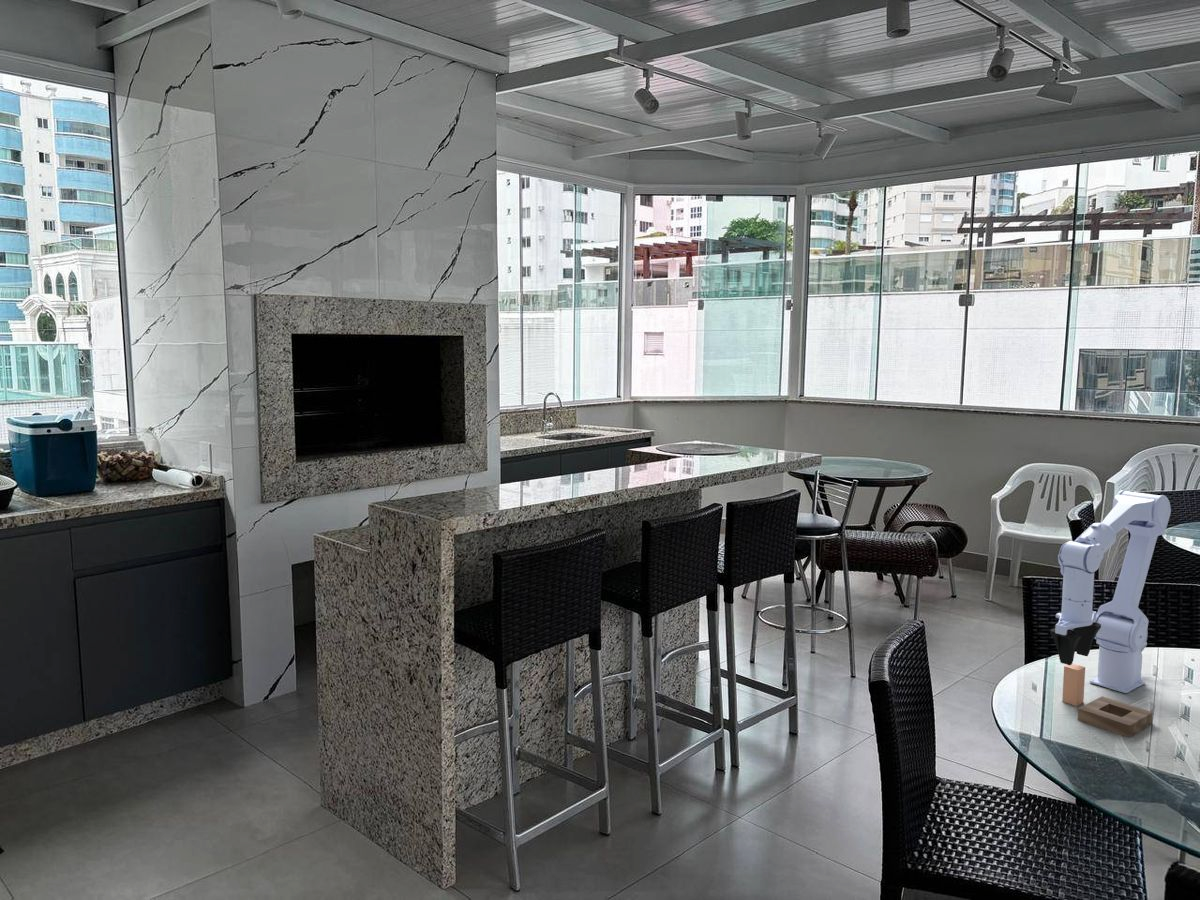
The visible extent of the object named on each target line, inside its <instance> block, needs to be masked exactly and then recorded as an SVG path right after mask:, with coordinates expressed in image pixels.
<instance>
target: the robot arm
mask: <svg viewBox="0 0 1200 900" xmlns="http://www.w3.org/2000/svg"><path fill="white" fill-rule="evenodd" d="M1171 511H1172V508H1171V503H1170V500H1169V498H1168V497H1167V496H1166V495H1164V494H1160V495H1158V494H1153V493H1152V494H1151V493H1144V492H1138V491H1137V492H1136V491H1129V490H1126V489H1121V490H1119V491H1118V492H1117V493H1116V494H1115V495H1114V497H1113V500H1112V509H1111V510H1110V512H1108V514H1107V515H1106V516H1105V517H1104V519H1103V520H1102V521H1101V522H1094V523H1092V524H1090V525H1089V526H1088V528H1087V529H1085V530H1084V531H1083V532H1082V533H1081V534H1080V535H1079V536H1078V537H1076V539H1075V540H1069V541H1067V542H1065V543H1063V544H1062V545H1061V547H1060V548H1059V551H1058V555H1057V561H1058V564H1059V565H1060V574H1061V575H1062V576H1063V577H1062V598H1061V599H1062V600H1061V612H1057V613H1056V614H1055V618H1056V619H1058V621H1057V623H1056V624H1055V626H1054V627H1053V628H1052V629H1050V635H1051V637H1052V639H1053V641H1054V643H1055V646H1056V649H1057V652H1058V653H1057V654H1058V657H1059V658H1058V659H1059V662H1060V663H1061V664H1063V665H1072V663H1073V662H1074V658H1075V652H1076V654H1077V655H1080V656H1084V657H1089V654H1090V651H1091V648H1092V646H1093V642H1094V640H1095V641H1096V644H1097V645H1099V648H1098V649H1099V650H1098V664H1097V676H1096V677H1093V678H1092V679H1089V683H1090V684H1094V685H1098V686H1101V687H1103V688H1107V689H1110V690H1113V691H1117V692H1120V693H1123V694H1128V693H1130V692H1131V691H1134V690H1135V689H1137V688H1139V687H1141V686H1142V685H1144V684H1145V683H1146V681H1145V680H1142V665H1143V654H1142V652H1141V651H1140V649H1141V648H1142V647H1143V646H1144V645H1145V643H1146V642H1147V640H1148V626H1149V619H1148V618H1147V616H1146V615H1145V614H1144V612H1143V611H1142V610H1141V609H1140V608H1139V605H1140V601H1141V597H1142V595H1143V594H1142V593H1143V590H1144V587H1145V583H1146V579H1147V576H1148V571H1149V569H1150V565H1151V560H1152V558H1153V554H1154V551H1155V546H1156V543H1157V540H1158V537H1159V536H1162V535H1165V533H1166V529H1167V527H1168V523H1169V521H1170V517H1171V513H1172V512H1171ZM1122 529H1126V530H1127V531H1129V534H1130V536H1129V537H1130V538H1129V541H1128V544H1127V545H1128V546H1127V548H1126V552H1125V556H1124V559H1123V562H1122V565H1121V570H1120V574H1119V577H1118V579H1117V580H1118V581H1117V584H1116V587H1115V590H1114V595H1113V598H1112V600H1110V601H1109V602H1106V603H1104V604H1101V605H1100V606H1099V607H1098V609H1097V611H1094V610H1093V606H1094V605H1093V600H1094V586H1095V585H1094V583H1095V572H1096V571H1097V570H1098V569H1099V568H1100V566H1101V563H1102V560H1103V559H1104V554H1105V553H1106V552H1107V551H1108V550H1109V549H1110V548H1111V547H1112V546H1113V545H1114V544H1115V543H1116V541H1117V534H1118V533H1119V531H1121V530H1122ZM1072 630H1073V632H1072Z"/></svg>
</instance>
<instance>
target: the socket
mask: <svg viewBox="0 0 1200 900" xmlns="http://www.w3.org/2000/svg"><path fill="white" fill-rule="evenodd" d="M1153 718H1154V712H1153V711H1151V710H1147V709H1144V708H1141V707H1138V706H1135V705H1132V704H1128V703H1126V702H1122V701H1120V700H1119V701H1118V700H1115V699H1113V698H1109V697H1105V696H1103V695H1101V696H1099V697H1098V698H1095V699H1094V700H1091V701H1090V702H1087V703H1086V704H1084V705H1082V706H1080V707H1078V709H1077V721H1079V720H1080V721H1079V722H1082V723H1085V724H1089V725H1091V726H1095V727H1097V726H1098V728H1100V729H1103V730H1106V731H1109V732H1112V733H1114V732H1115V733H1114V734H1117V733H1118V735H1120V734H1121V736H1123V735H1124V736H1123V737H1126V736H1127V738H1130V736H1131V737H1133V736H1134V735H1136V734H1138V733H1139V732H1141V731H1143V730H1144V729H1146V728H1148V727H1149V725H1150V726H1151V725H1153ZM1147 726H1148V727H1147ZM1142 729H1143V730H1142ZM1140 730H1141V731H1140ZM1137 732H1138V733H1137ZM1132 735H1133V736H1132Z"/></svg>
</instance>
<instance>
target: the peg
mask: <svg viewBox="0 0 1200 900" xmlns="http://www.w3.org/2000/svg"><path fill="white" fill-rule="evenodd" d="M1085 676H1086V666H1083V665H1080V664H1075V663H1073V662H1072V665H1067V664H1065V665H1064V667H1063V677H1062V678H1063V682H1062V683H1063V684H1062V700H1061V702H1062V701H1064V702H1063V703H1065V702H1067V703H1066V704H1068V703H1069V704H1068V705H1071V704H1072V706H1074V705H1075V706H1074V707H1077V705H1078V706H1079V704H1080V705H1081V703H1082V704H1084V700H1085V699H1084V697H1085V682H1086V681H1085V679H1086V677H1085Z"/></svg>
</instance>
